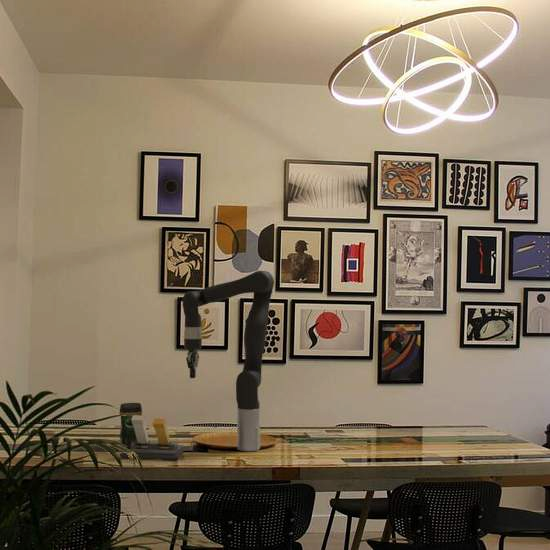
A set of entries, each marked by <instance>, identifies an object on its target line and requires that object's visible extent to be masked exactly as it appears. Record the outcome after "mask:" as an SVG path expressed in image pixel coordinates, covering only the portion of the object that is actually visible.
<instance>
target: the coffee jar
mask: <svg viewBox="0 0 550 550" xmlns="http://www.w3.org/2000/svg"><path fill="white" fill-rule="evenodd" d="M119 407H120V408H119V412H118V413H119V416H120V415H126V416H121V417H120V432H119V433H120V434H119V444H120V443H122V444H124V445H126V446H128V447H131V442H133V441H135V440H137V438H136V434H135V430H134V426H133V424H132V421H131V419H132V417H133V415H140V416H143V408H142V404H141V403H140V402H126V403H125V402H123V403H121V404H120V406H119Z"/></svg>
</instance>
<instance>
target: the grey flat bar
mask: <svg viewBox="0 0 550 550" xmlns="http://www.w3.org/2000/svg"><path fill="white" fill-rule="evenodd" d="M129 450H131V451H134V452H135V453H136V454H137V455H138V457H139V458H141V459H140V460H152V459H162V460H161V461H179V459H180V456H178V455H175V454H176V451H169V450H144V449H129ZM132 456H133V458H135V459H134V460H137V459H136V457H135V456H134V454H133V455H132ZM120 457H121V459H128V460H129V459H130V458H129V457H128V455H127V454H126V453H124V452H121V453H119V458H120ZM130 460H131V459H130Z"/></svg>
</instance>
